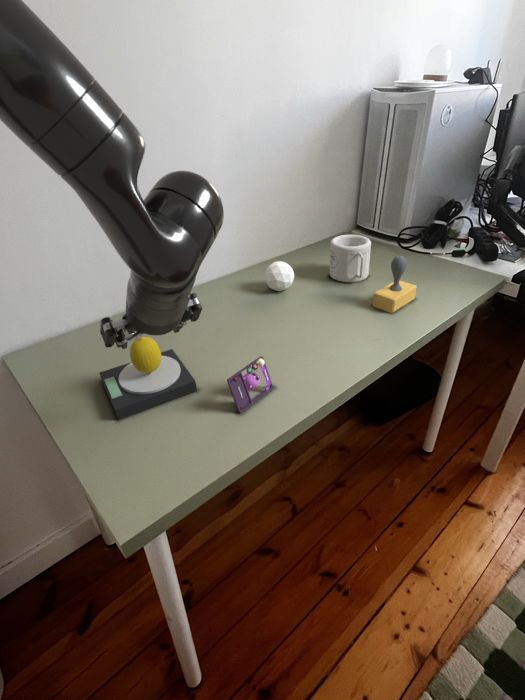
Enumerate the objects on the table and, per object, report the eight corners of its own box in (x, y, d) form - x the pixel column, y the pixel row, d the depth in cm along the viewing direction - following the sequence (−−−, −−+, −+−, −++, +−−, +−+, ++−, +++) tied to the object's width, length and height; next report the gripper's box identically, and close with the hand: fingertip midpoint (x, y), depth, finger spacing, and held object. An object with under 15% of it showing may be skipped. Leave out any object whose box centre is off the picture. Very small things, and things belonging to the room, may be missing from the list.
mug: (323, 270, 125) (324, 236, 119) (358, 265, 127) (361, 231, 121) (341, 290, 114) (343, 253, 108) (379, 283, 116) (383, 248, 110)
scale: (118, 420, 76) (114, 407, 75) (102, 382, 86) (98, 369, 84) (197, 390, 82) (194, 378, 80) (174, 358, 92) (171, 346, 90)
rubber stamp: (395, 292, 111) (401, 247, 105) (415, 299, 108) (422, 253, 101) (372, 306, 106) (376, 259, 99) (392, 313, 102) (398, 266, 96)
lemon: (169, 366, 84) (162, 331, 79) (155, 383, 80) (146, 347, 75) (145, 362, 85) (136, 327, 81) (129, 379, 81) (119, 343, 77)
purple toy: (230, 380, 73) (265, 356, 79) (212, 377, 77) (246, 354, 82) (243, 413, 75) (276, 388, 81) (224, 409, 79) (257, 385, 85)
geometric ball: (274, 300, 117) (256, 282, 112) (279, 279, 121) (261, 260, 117) (297, 291, 112) (279, 272, 108) (301, 270, 117) (284, 250, 112)
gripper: (199, 257, 58) (182, 302, 72) (89, 284, 52) (95, 326, 67) (220, 308, 57) (198, 342, 71) (110, 341, 51) (111, 371, 66)
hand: (148, 334), depth 69 cm, fingers open, 8 cm apart
